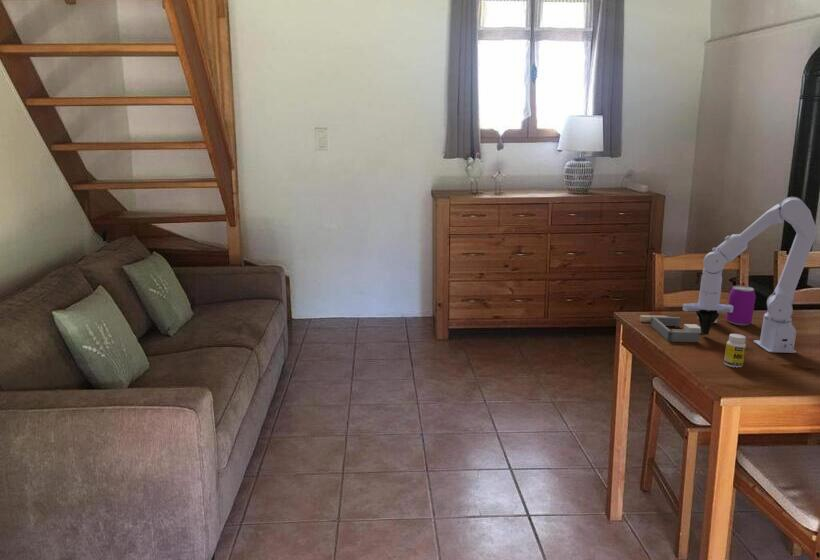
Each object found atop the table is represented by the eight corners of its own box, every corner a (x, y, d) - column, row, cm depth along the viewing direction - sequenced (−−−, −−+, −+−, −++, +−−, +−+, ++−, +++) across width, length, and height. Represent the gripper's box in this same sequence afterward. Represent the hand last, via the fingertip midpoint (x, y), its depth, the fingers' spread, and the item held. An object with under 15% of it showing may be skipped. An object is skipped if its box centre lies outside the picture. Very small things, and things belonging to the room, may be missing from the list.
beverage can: (746, 320, 219) (751, 285, 216) (754, 326, 211) (760, 291, 208) (722, 318, 220) (727, 284, 217) (730, 325, 212) (735, 290, 210)
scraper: (678, 325, 212) (679, 319, 211) (643, 324, 212) (643, 318, 211) (670, 318, 218) (671, 313, 218) (636, 317, 219) (637, 312, 218)
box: (698, 342, 195) (699, 332, 194) (668, 341, 195) (669, 332, 195) (678, 326, 211) (679, 317, 210) (650, 325, 211) (651, 316, 210)
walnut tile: (687, 339, 198) (688, 333, 198) (674, 339, 198) (675, 333, 198) (682, 335, 202) (683, 329, 202) (669, 335, 202) (670, 329, 202)
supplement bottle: (732, 368, 174) (736, 339, 172) (719, 362, 179) (723, 333, 177) (746, 367, 176) (751, 337, 174) (733, 361, 180) (738, 332, 178)
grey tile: (701, 334, 204) (701, 328, 203) (688, 333, 204) (689, 327, 203) (695, 330, 208) (696, 324, 207) (683, 330, 208) (683, 324, 207)
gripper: (728, 288, 201) (722, 330, 204) (681, 287, 201) (676, 329, 204) (738, 294, 194) (732, 337, 197) (690, 293, 194) (684, 336, 197)
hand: (704, 333), depth 200 cm, fingers closed
